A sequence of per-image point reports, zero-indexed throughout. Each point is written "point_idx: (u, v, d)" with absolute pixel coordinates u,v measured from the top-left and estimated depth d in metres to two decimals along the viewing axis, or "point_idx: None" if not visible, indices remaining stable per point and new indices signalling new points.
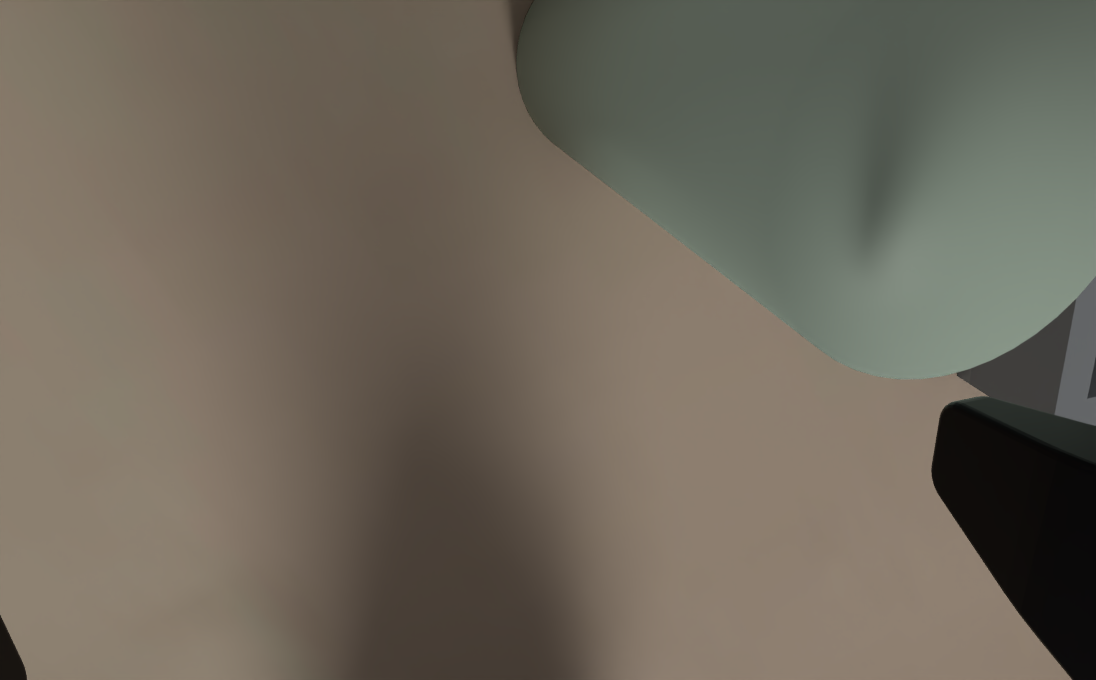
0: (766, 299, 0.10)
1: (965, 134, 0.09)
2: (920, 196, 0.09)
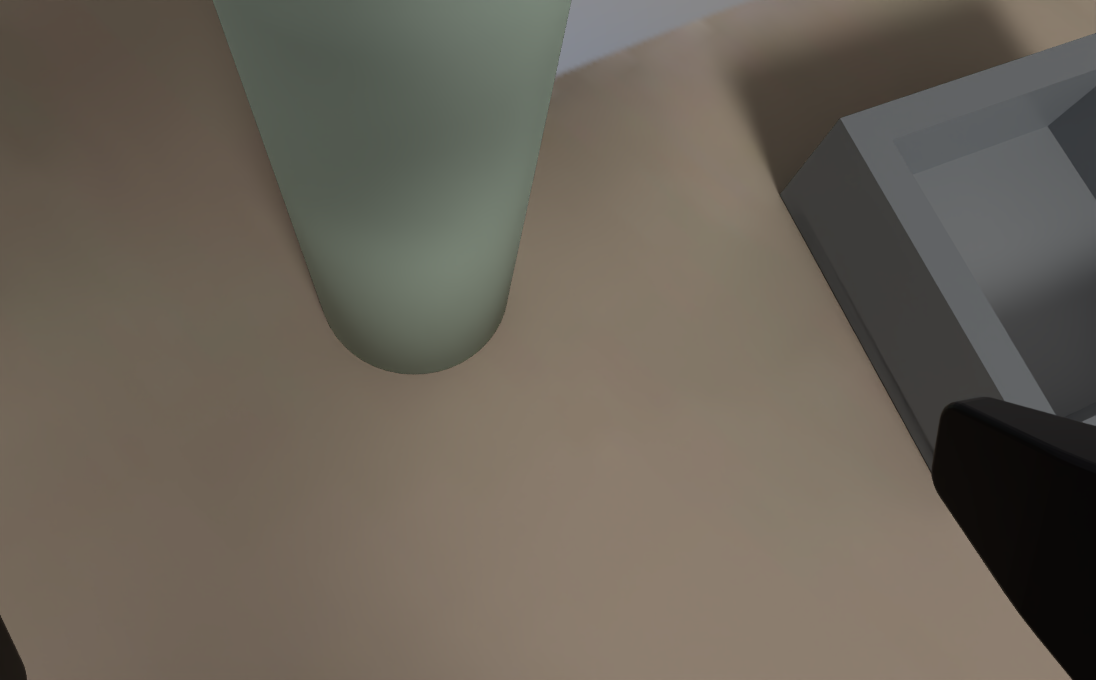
0: (269, 53, 0.10)
1: None
2: None
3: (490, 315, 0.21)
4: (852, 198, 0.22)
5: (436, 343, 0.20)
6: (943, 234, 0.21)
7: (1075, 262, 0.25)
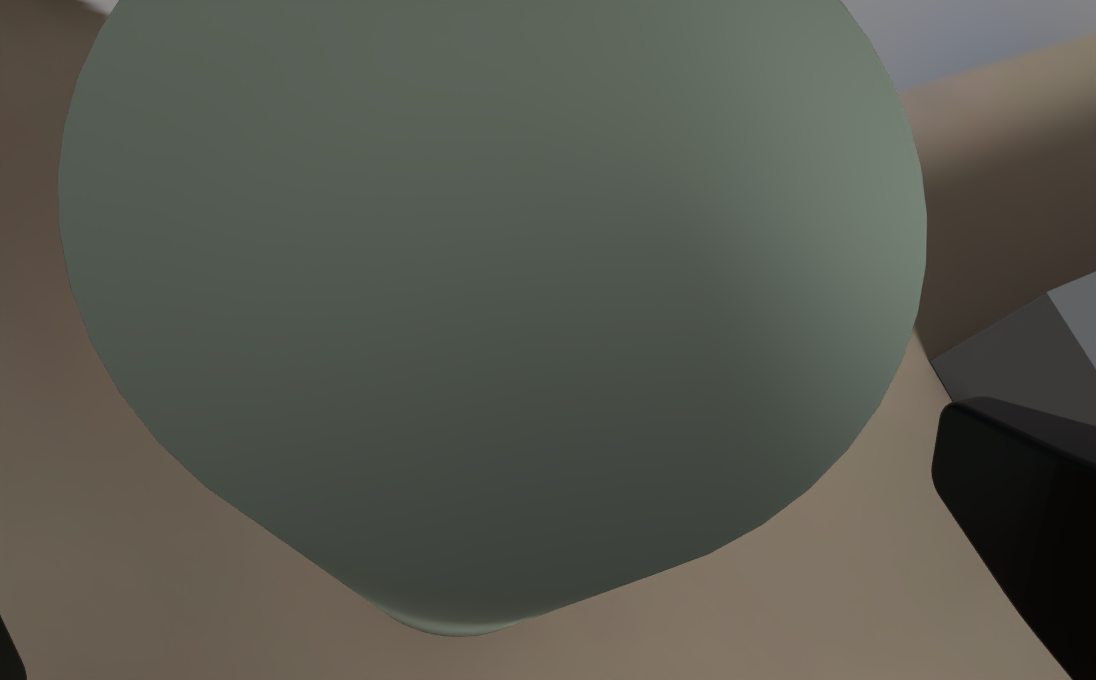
0: None
1: (467, 86, 0.05)
2: (428, 196, 0.05)
3: None
4: (1056, 394, 0.16)
5: None
6: None
7: None
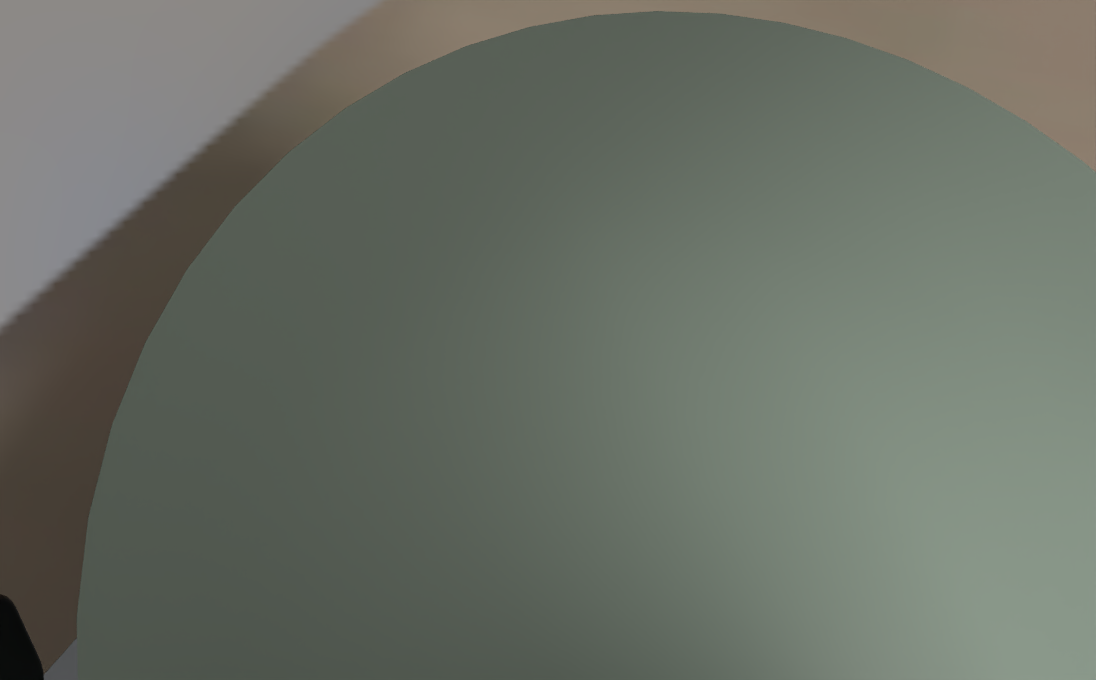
0: None
1: (700, 416, 0.03)
2: (668, 613, 0.03)
3: None
4: None
5: None
6: None
7: None
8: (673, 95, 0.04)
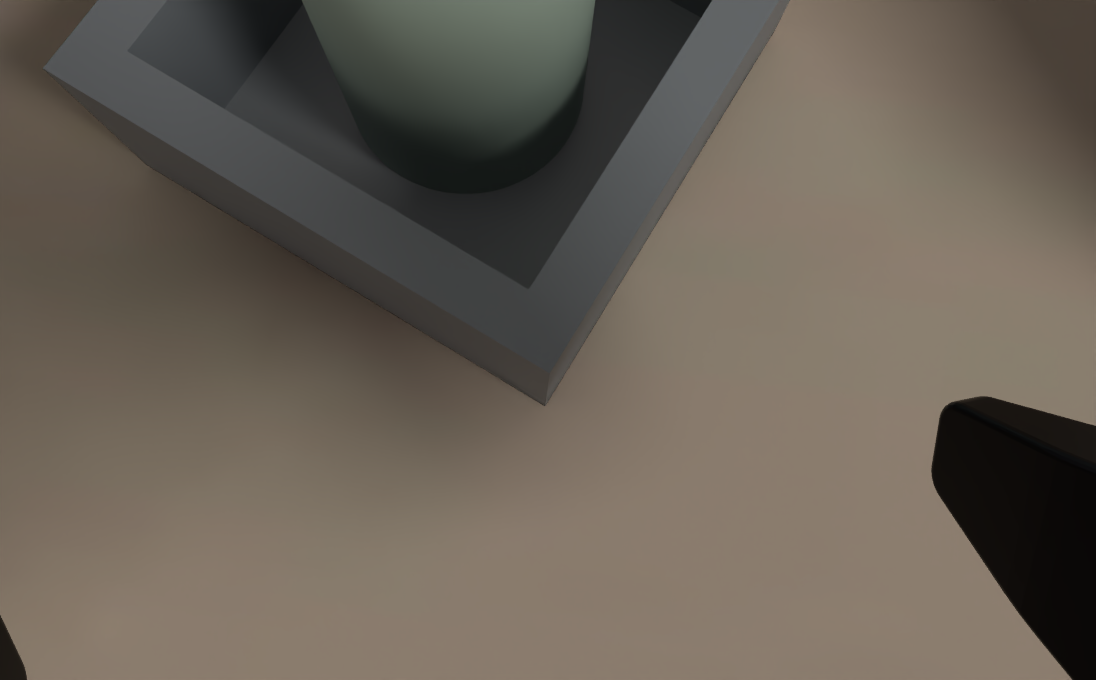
0: None
1: None
2: None
3: (566, 96, 0.16)
4: (156, 148, 0.15)
5: (501, 138, 0.15)
6: (254, 136, 0.14)
7: None
8: None
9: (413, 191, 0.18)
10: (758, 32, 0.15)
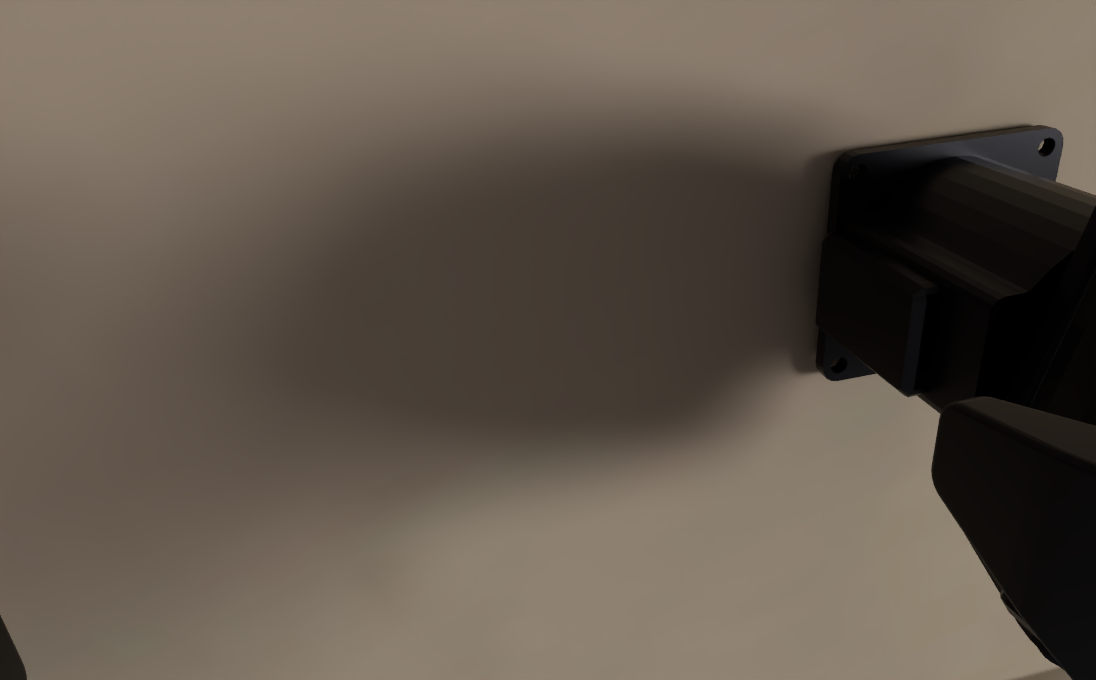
0: None
1: None
2: None
3: None
4: None
5: None
6: None
7: None
8: None
9: None
10: None
